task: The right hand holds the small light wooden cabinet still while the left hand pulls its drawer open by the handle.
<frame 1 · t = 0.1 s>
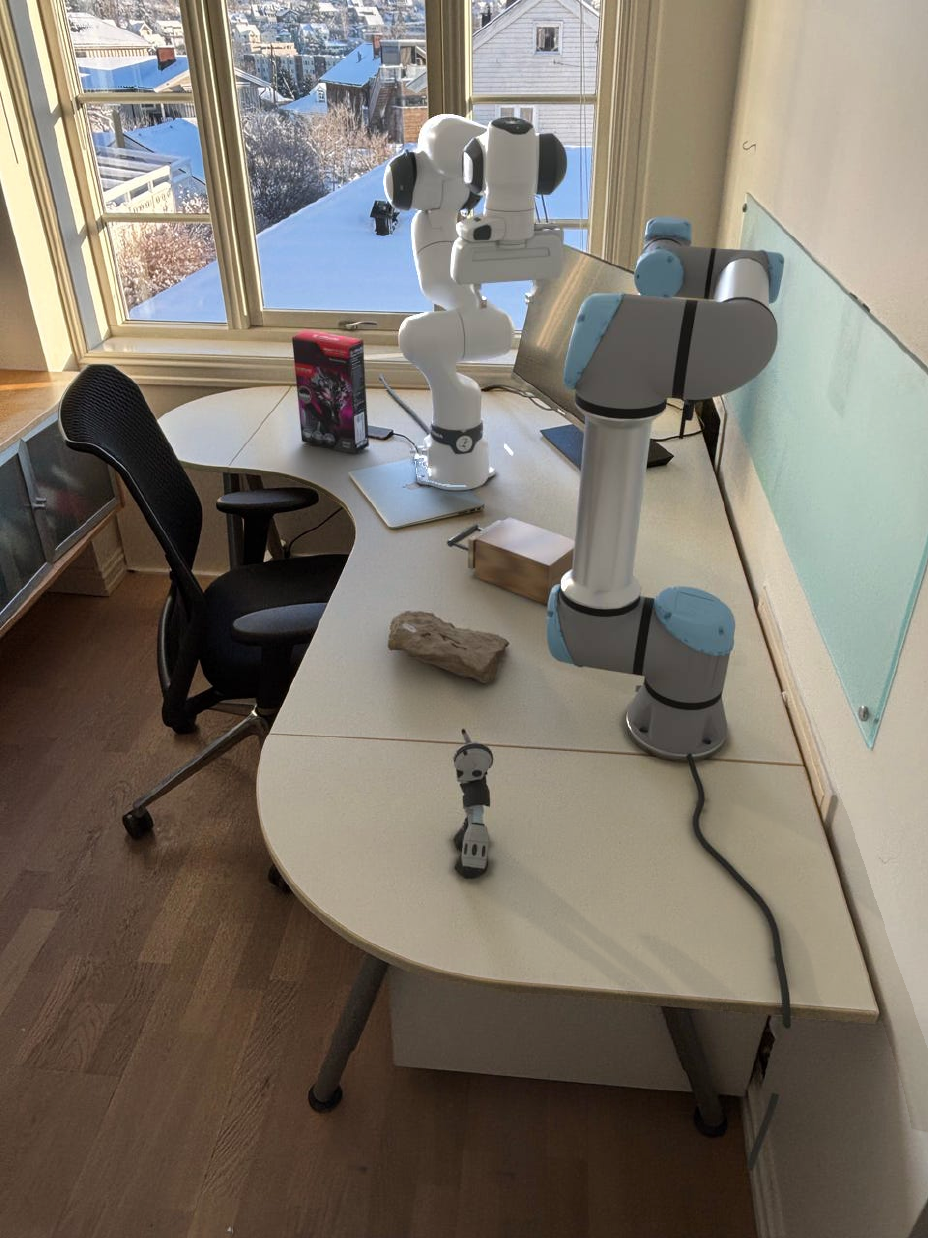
left hand: (506, 306, 167), 48 cm above the table, tool pointing down, fingers open, 8 cm apart
right hand: (643, 432, 170), 28 cm above the table, tool pointing down, fingers open, 13 cm apart
cabinet: (526, 578, 180), on the table
stone: (442, 658, 158), on the table
robot: (471, 854, 122), on the table
drawer: (503, 550, 181), point 4 cm above the table, slide at 1.0 cm
graphics card box: (335, 445, 234), on the table
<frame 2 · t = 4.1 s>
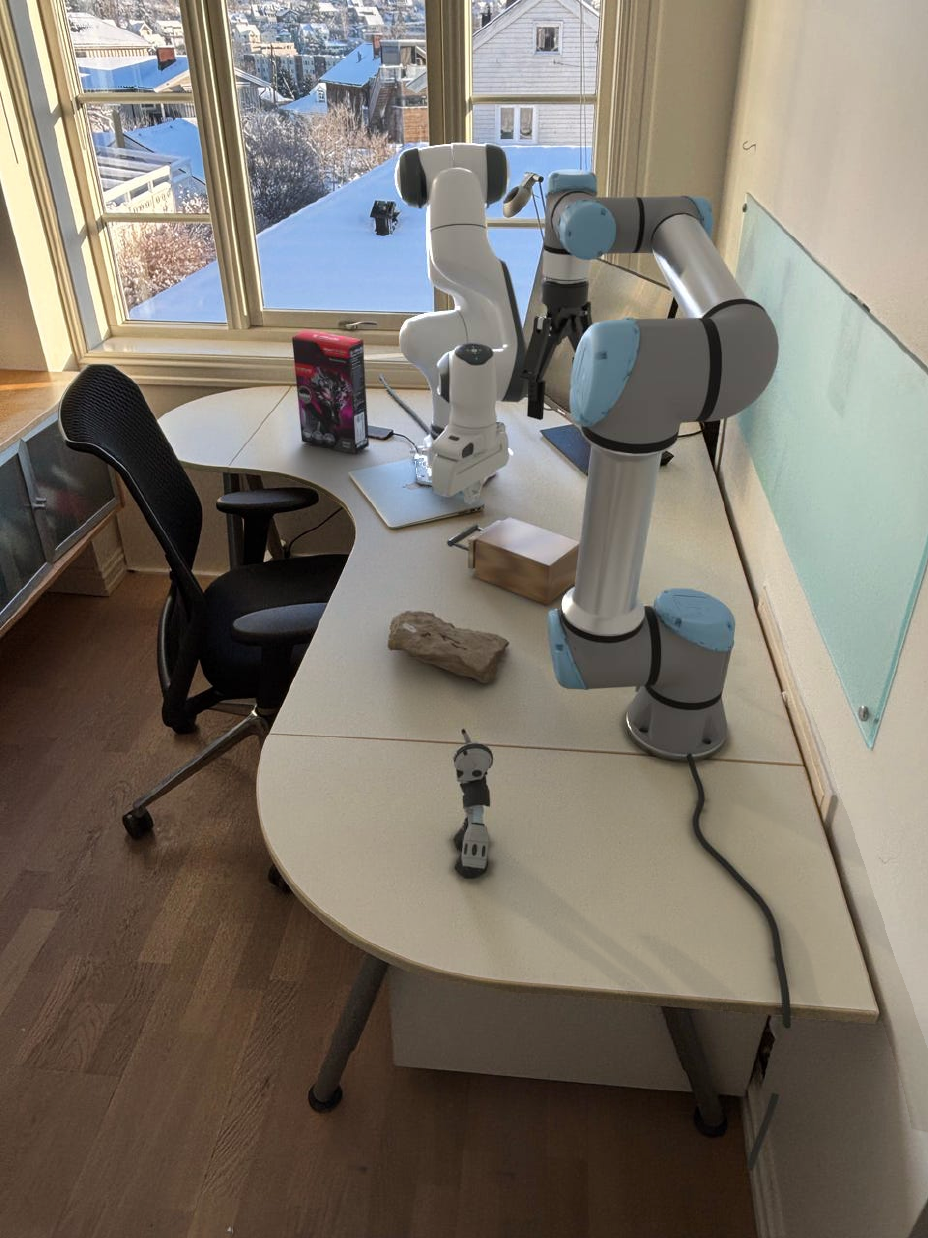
left hand: (471, 500, 180), 13 cm above the table, tool pointing down, fingers closed
right hand: (556, 405, 158), 36 cm above the table, tool pointing down, fingers open, 13 cm apart
nothing on the table moved.
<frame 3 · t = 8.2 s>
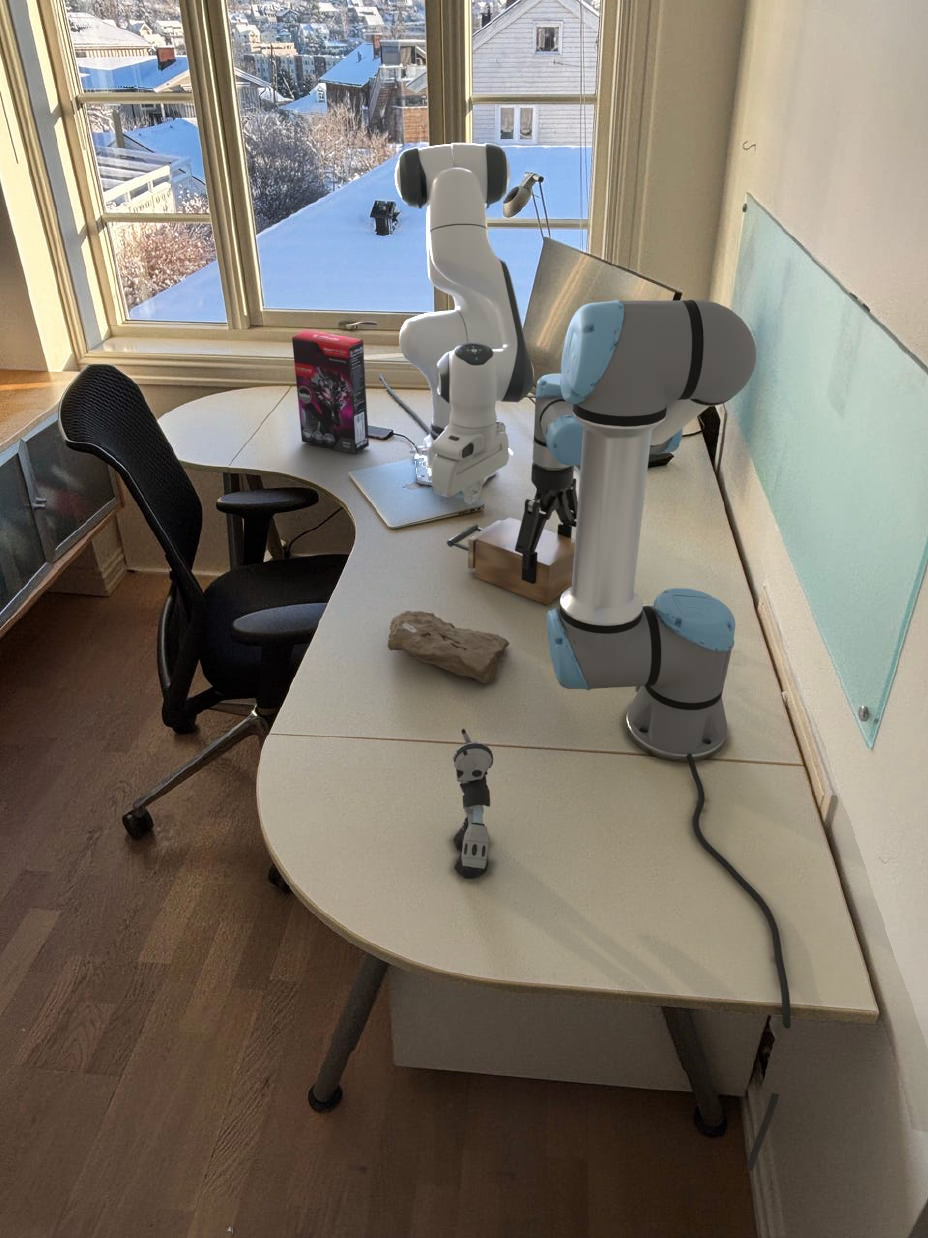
left hand: (471, 500, 180), 13 cm above the table, tool pointing down, fingers closed
right hand: (545, 568, 176), 4 cm above the table, tool pointing down, fingers closed on cabinet, 11 cm apart
cabinet: (526, 578, 180), on the table, touching right hand
everything else where it was.
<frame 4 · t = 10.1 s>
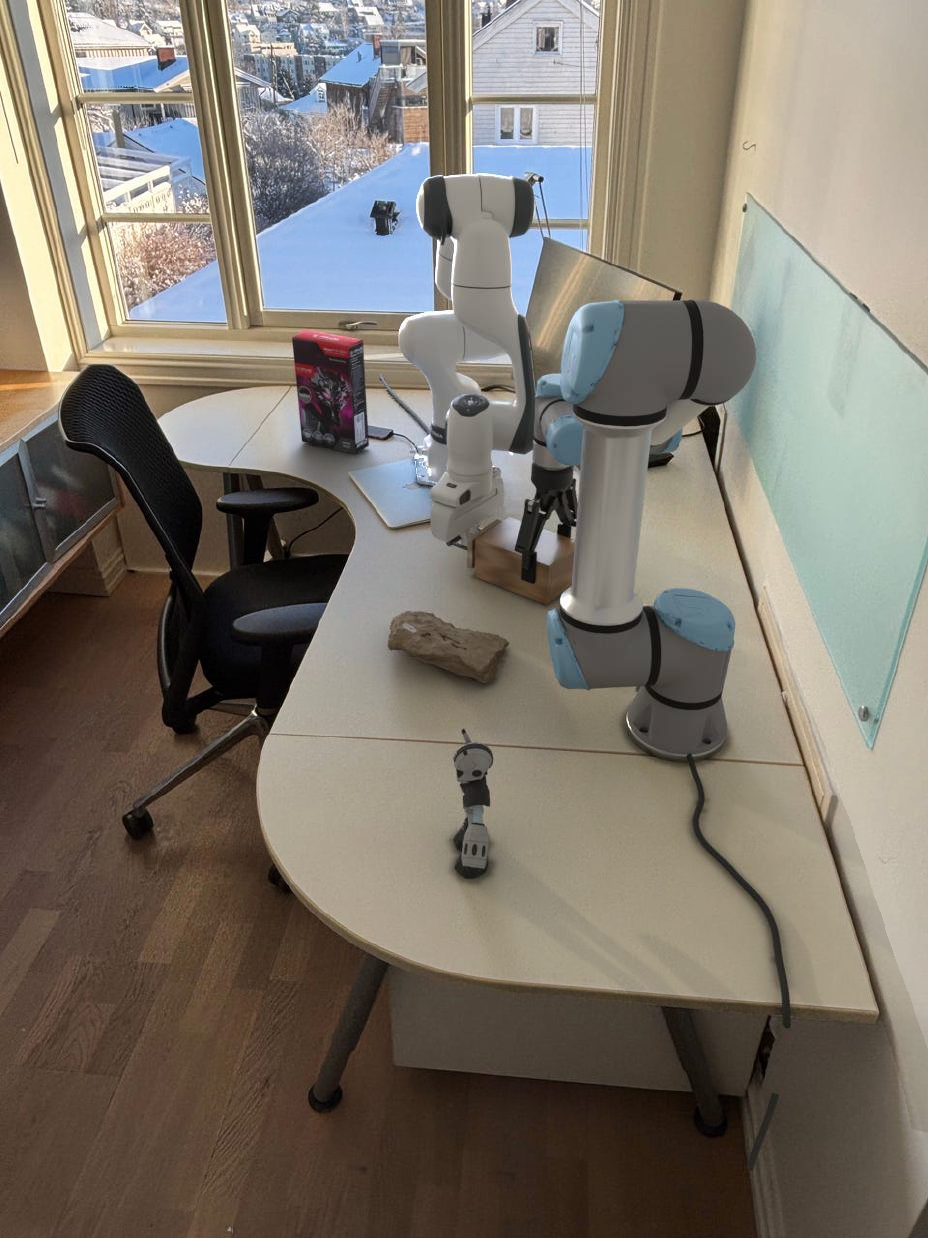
left hand: (468, 543, 186), 3 cm above the table, tool pointing down, fingers closed, pressing on drawer
right hand: (545, 568, 176), 4 cm above the table, tool pointing down, fingers closed on cabinet, 11 cm apart
cabinet: (526, 578, 180), on the table, touching right hand
drawer: (502, 550, 181), point 4 cm above the table, slide at 1.2 cm, touching left hand
everything else where it was.
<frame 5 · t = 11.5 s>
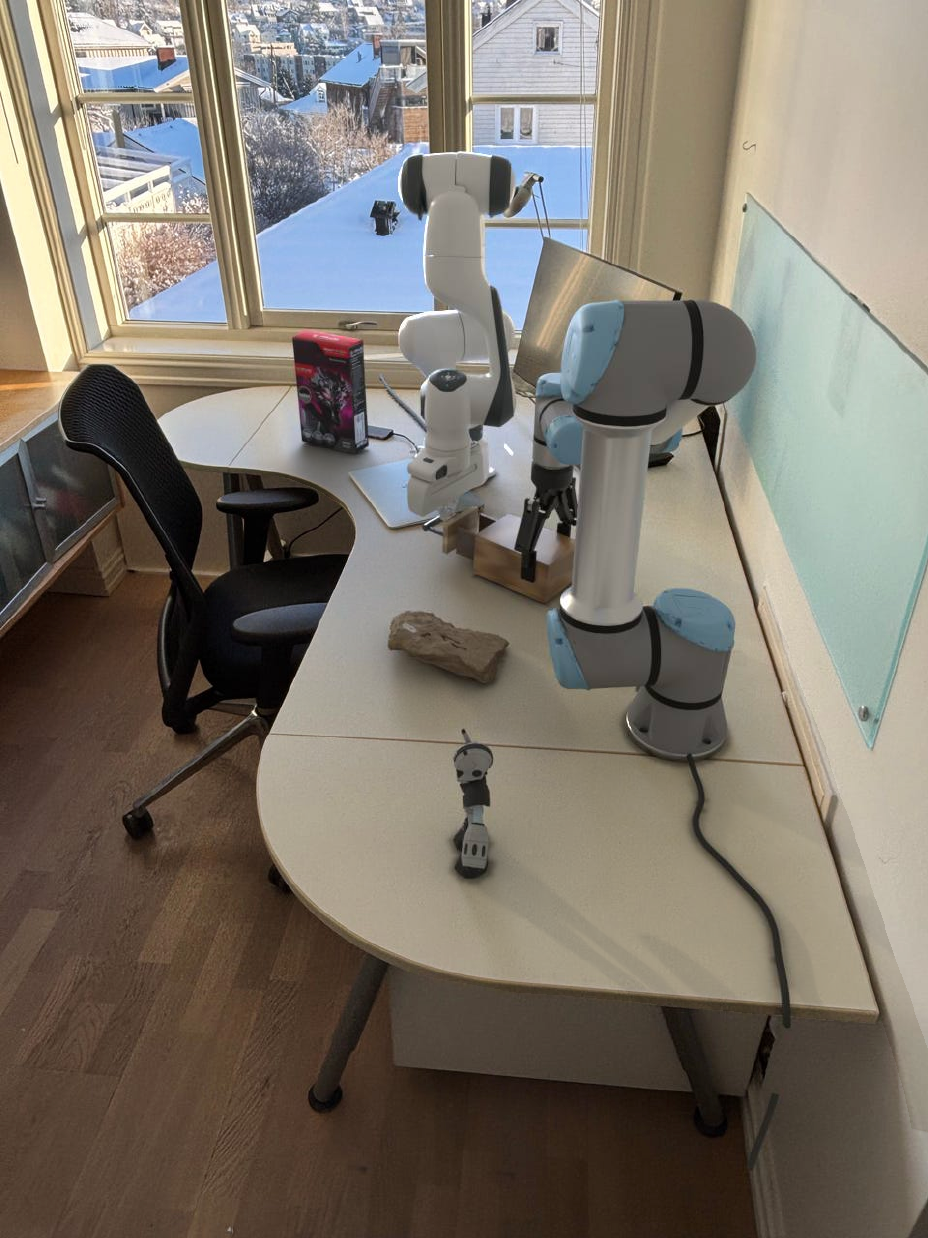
left hand: (447, 517, 187), 7 cm above the table, tool pointing down, fingers closed
right hand: (545, 567, 176), 4 cm above the table, tool pointing down, fingers closed on cabinet, 11 cm apart
cabinet: (524, 575, 181), on the table, touching right hand
drawer: (477, 536, 184), point 5 cm above the table, slide at 7.0 cm
everything else where it was.
when the right hand's fingers open (4 cm above the table, at t = 12.8 s): cabinet stays where it is, on the table.
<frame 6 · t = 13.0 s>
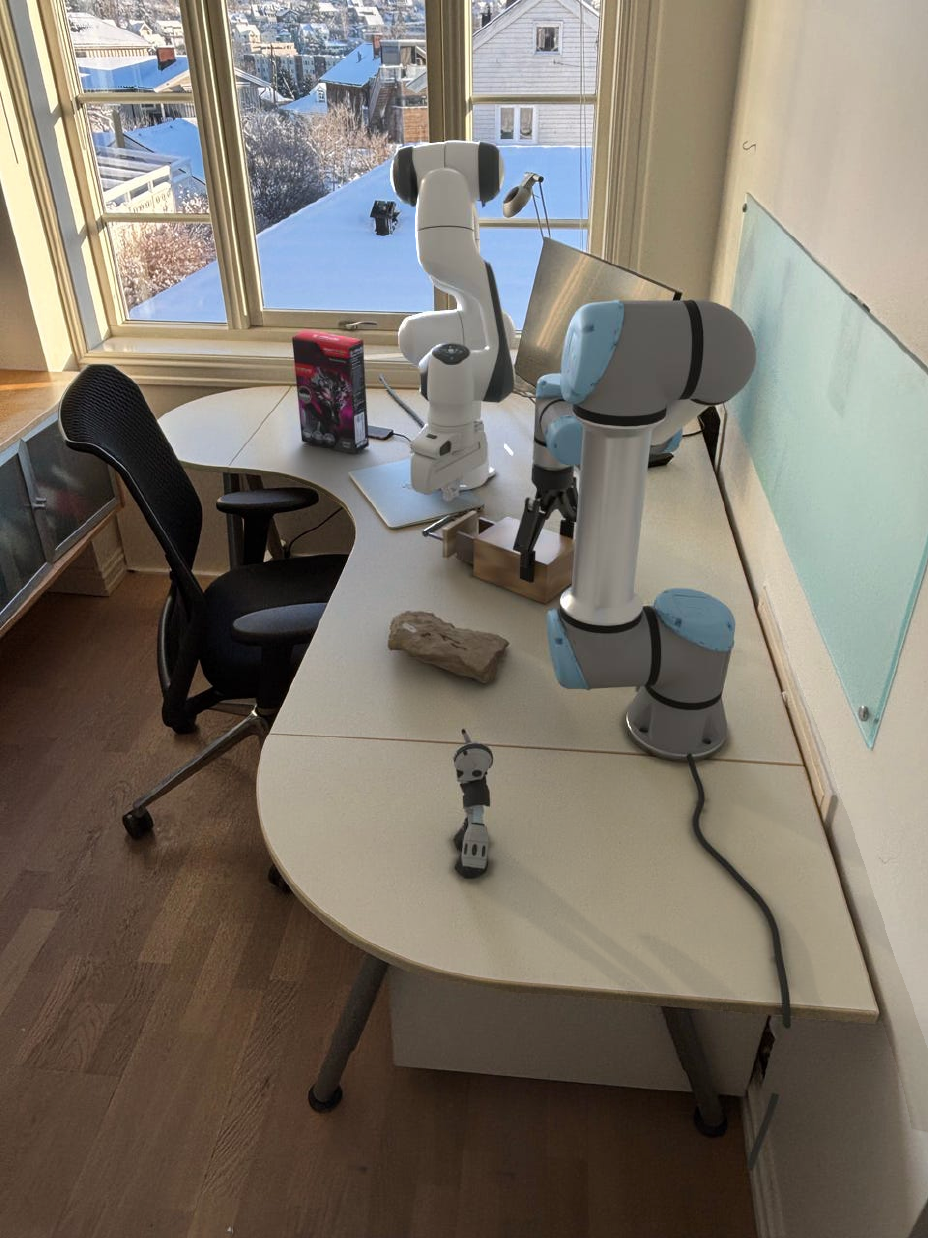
left hand: (450, 498, 183), 12 cm above the table, tool pointing down, fingers closed
right hand: (546, 565, 176), 4 cm above the table, tool pointing down, fingers open, 13 cm apart
cabinet: (524, 577, 181), on the table
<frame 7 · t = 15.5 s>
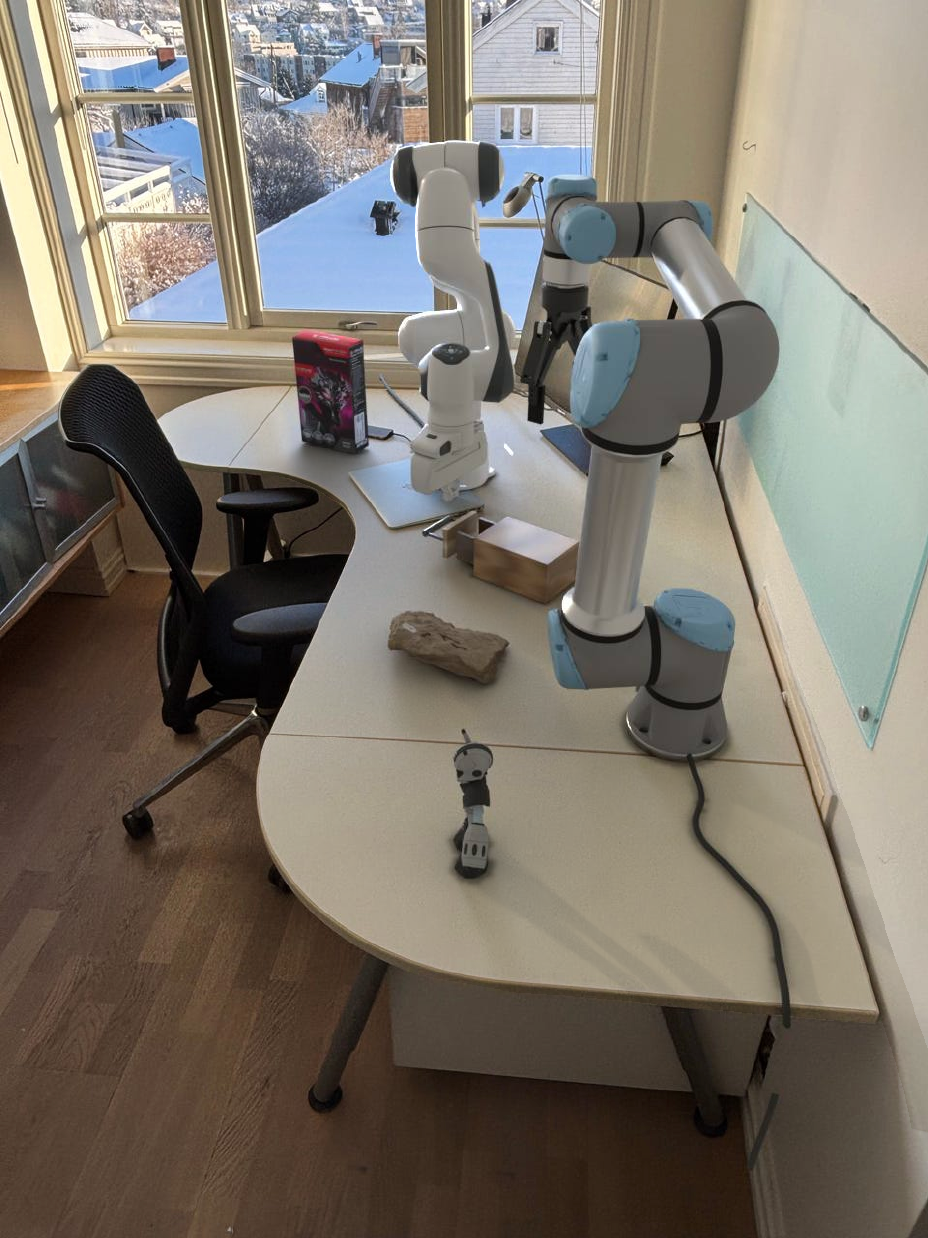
left hand: (450, 498, 183), 12 cm above the table, tool pointing down, fingers closed
right hand: (557, 410, 158), 36 cm above the table, tool pointing down, fingers open, 13 cm apart
nothing on the table moved.
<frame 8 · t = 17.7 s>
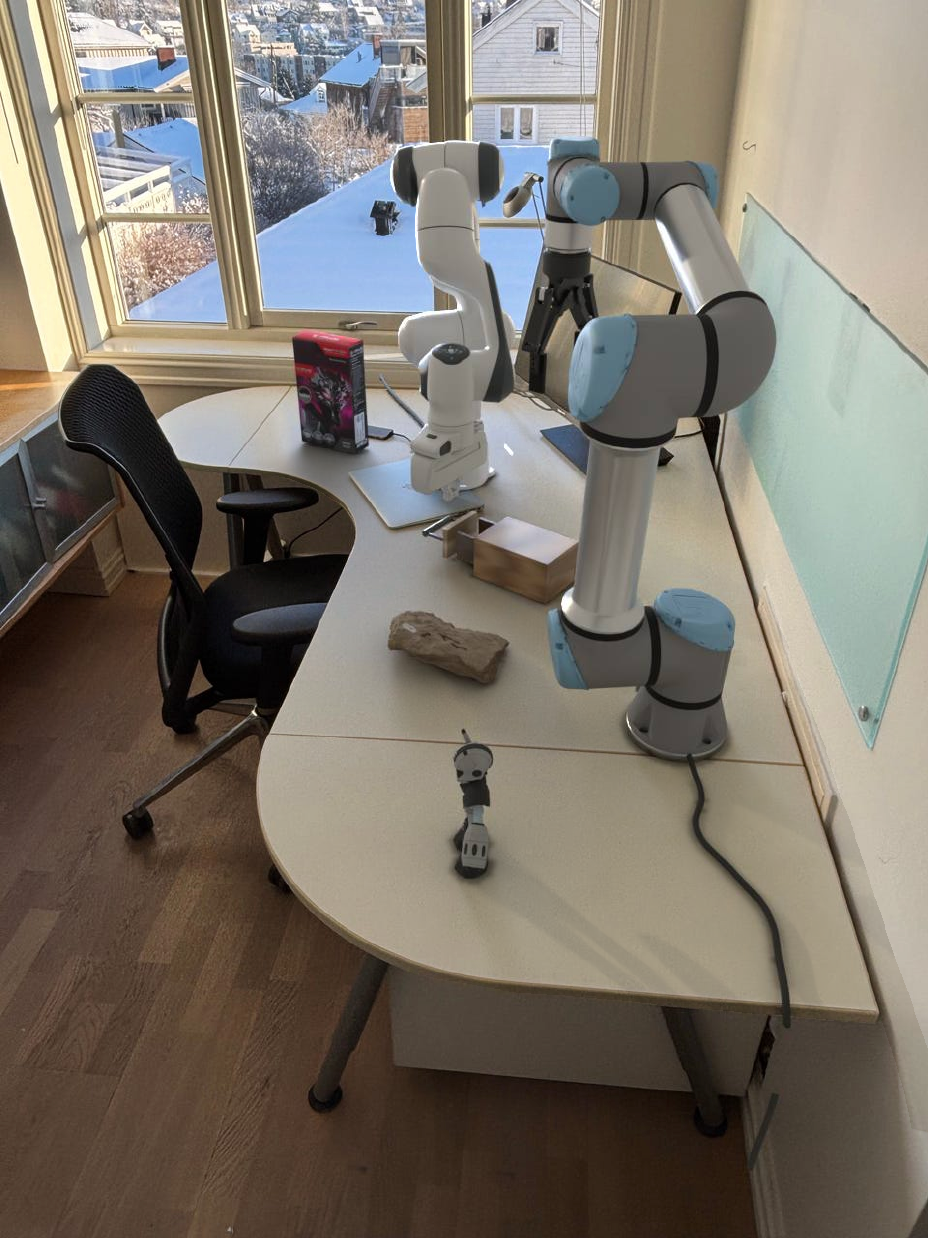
left hand: (450, 498, 183), 12 cm above the table, tool pointing down, fingers closed
right hand: (558, 380, 156), 41 cm above the table, tool pointing down, fingers open, 13 cm apart
nothing on the table moved.
at the end: drawer slide at 7.0 cm; cabinet tilted 0°; cabinet never tilted more than 3° during the clip; cabinet moved 0.5 cm from its start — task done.
